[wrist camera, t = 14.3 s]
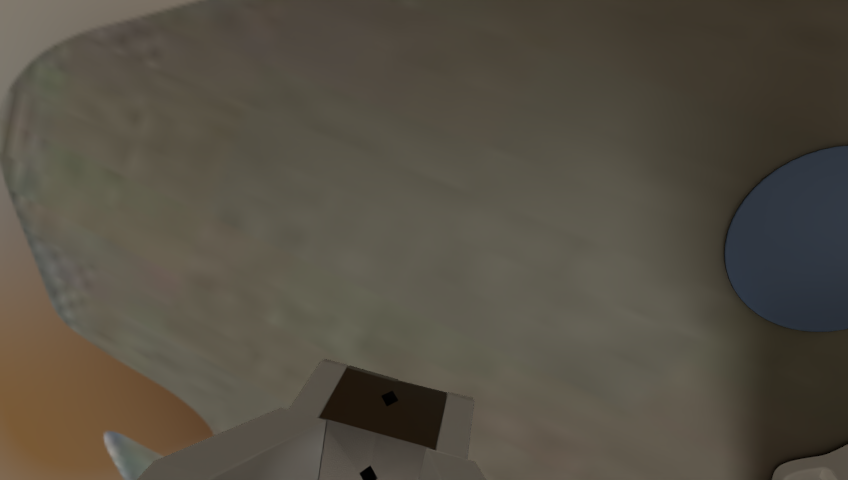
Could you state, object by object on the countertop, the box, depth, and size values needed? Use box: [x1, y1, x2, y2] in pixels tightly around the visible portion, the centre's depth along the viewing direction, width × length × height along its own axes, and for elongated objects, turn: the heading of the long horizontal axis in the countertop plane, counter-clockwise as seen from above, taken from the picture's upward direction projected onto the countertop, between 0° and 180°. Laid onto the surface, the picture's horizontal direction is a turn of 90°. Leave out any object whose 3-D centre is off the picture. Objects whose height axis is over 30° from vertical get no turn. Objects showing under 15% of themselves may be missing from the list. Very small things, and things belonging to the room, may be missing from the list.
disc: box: [724, 146, 848, 332], centre depth 31 cm, size 12×12×1 cm
